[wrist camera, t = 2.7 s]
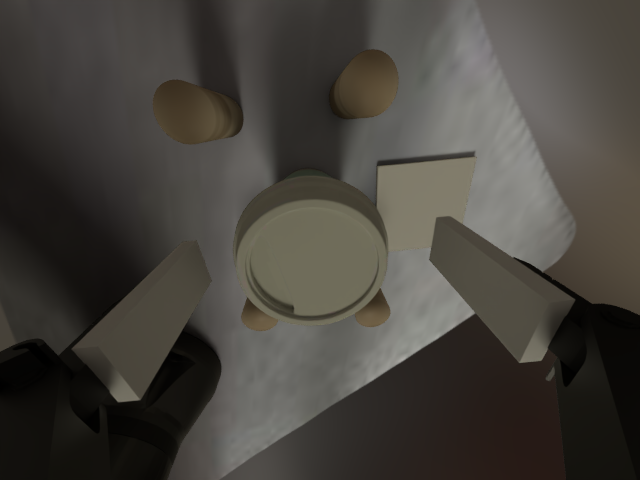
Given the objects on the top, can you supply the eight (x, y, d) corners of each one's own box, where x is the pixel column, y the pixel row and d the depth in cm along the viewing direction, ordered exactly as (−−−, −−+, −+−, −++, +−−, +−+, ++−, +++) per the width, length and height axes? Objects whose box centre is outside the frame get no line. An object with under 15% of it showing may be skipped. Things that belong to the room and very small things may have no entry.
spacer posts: (252, 290, 26) (237, 341, 20) (197, 89, 18) (138, 70, 11) (369, 277, 27) (389, 324, 20) (372, 72, 18) (410, 45, 12)
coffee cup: (274, 138, 19) (239, 157, 9) (366, 169, 21) (431, 217, 10) (255, 227, 23) (212, 318, 12) (335, 248, 25) (359, 344, 14)
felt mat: (374, 251, 25) (375, 253, 25) (376, 166, 21) (377, 166, 21) (455, 242, 25) (457, 244, 25) (473, 156, 21) (476, 156, 21)
